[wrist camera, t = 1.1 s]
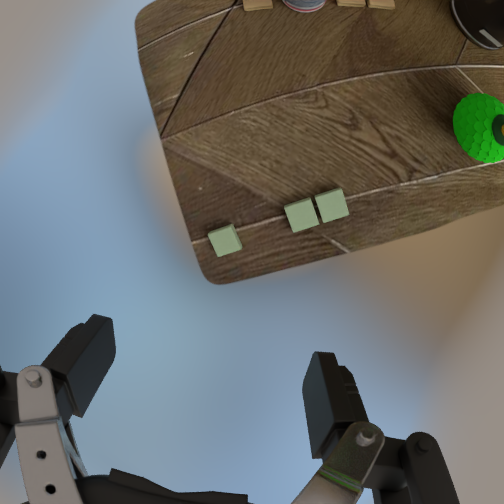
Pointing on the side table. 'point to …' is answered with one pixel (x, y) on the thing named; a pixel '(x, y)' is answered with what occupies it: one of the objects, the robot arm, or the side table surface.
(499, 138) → the ornament
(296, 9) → the pill bottle
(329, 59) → the side table surface
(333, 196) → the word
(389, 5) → the set of tan tiles
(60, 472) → the robot arm
